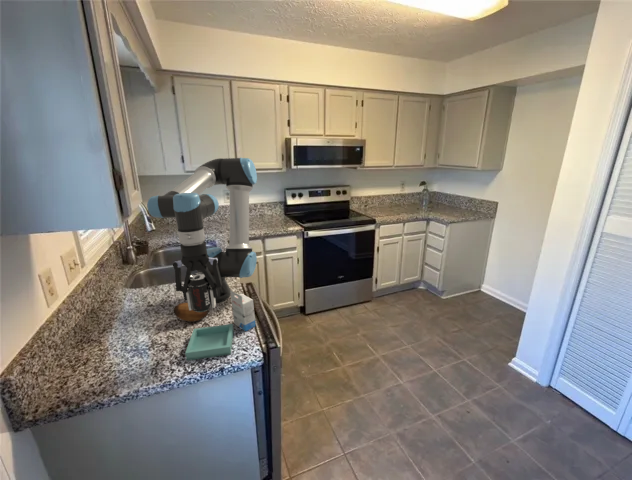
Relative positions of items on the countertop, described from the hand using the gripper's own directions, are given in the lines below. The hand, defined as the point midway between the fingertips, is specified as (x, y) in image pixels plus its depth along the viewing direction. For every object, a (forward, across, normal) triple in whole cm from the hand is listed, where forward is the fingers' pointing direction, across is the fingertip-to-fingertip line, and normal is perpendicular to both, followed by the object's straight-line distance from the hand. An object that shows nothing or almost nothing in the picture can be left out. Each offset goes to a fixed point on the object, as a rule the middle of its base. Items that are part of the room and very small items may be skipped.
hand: (202, 307), depth 99 cm
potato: (+15, -9, +19) cm, 26 cm away
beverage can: (+1, 0, 0) cm, 1 cm away
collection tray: (+15, +1, 0) cm, 15 cm away
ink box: (+15, +12, +10) cm, 22 cm away
